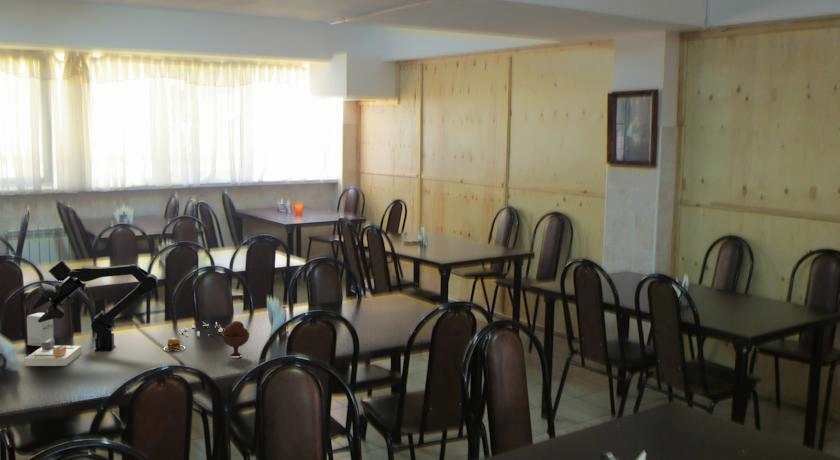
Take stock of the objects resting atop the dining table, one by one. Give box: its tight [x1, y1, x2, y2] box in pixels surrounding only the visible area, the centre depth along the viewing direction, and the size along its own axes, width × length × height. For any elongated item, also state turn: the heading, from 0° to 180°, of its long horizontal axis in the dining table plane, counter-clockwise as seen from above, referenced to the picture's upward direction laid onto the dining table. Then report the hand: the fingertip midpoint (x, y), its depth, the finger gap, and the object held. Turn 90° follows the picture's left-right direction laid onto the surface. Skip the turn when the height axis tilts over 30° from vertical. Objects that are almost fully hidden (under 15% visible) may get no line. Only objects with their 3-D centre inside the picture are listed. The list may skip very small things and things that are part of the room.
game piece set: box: [180, 321, 224, 337], centre depth 357 cm, size 19×20×4 cm
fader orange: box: [53, 345, 67, 356], centre depth 305 cm, size 3×5×3 cm, turn 4°
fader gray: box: [41, 338, 56, 349], centre depth 315 cm, size 3×5×3 cm, turn 4°
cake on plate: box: [163, 337, 186, 352], centre depth 329 cm, size 12×12×6 cm
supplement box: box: [26, 312, 54, 347], centre depth 331 cm, size 7×7×13 cm
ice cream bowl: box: [221, 320, 250, 356], centre depth 319 cm, size 11×11×15 cm
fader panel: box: [24, 345, 83, 367], centre depth 310 cm, size 15×18×3 cm
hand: (35, 315), depth 318 cm, fingers open, 9 cm apart
